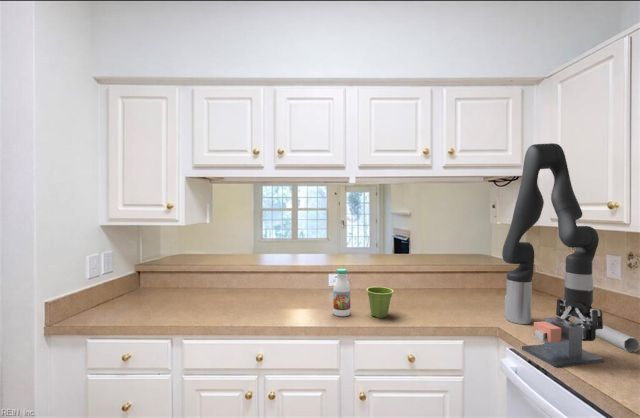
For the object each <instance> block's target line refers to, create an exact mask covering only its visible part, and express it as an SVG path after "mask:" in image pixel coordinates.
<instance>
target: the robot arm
mask: <svg viewBox="0 0 640 418" xmlns="http://www.w3.org/2000/svg"><path fill="white" fill-rule="evenodd" d="M523 159H524V160H523V166H522V174H521V181H520V184H519V189H518V190H519V191H518V194H517V198H516V201H515V206H514V210H513V215H512V220H511V222H510V226H509V230H508V233H507V234H506V235H507V236H506V238H505V241H504V244H503V247H502V253H501V255H502V260H503V261H504V262H505V263H506V264H509V265H518V266H517V267H516V268H515V269H512V270H509V271H507V273H506V295H504V318H505V319H506V320H507V321H508V322H511V323H514V324H519V325H530V324H532V308H533V307H532V305H533V304H532V301H533V300H532V299H533V298H532V296H533V295H532V294H533V293H532V292H533V290H532V289H533V283H532V282H533V276H534V268H535V267H534V266H535V248H534V246H533V244H531V243H530V242H528V241H521V239H522V238H523V236H524V235H525V234H526V233H527V231H530V229H531V228H532V227H534V226H535V224H537V222H538V221H539V219H540V218H541V216H542V213H543V212H542V211H543V208H544V204H545V202H544V201H545V200H544V197H543V195H542V193H541V190H540V188H539V185H538V179H539V174H540V171H541V170H550V171H551V174H552V176H553V186H552V190H551V194H550V196H551V197H550V199H551V204H552V207H553V209H554V212H555V214H556V217H557V224H558V225H557V226H558V228H557V229H558V237H559V240H560V241H561V243H562V244H563V245H565V247H568V248H572V249H573V248H574V249H575V250H574V252H573V253H570V254H568V255H566V257H565V272H564V273H565V274H564V283H563V284H564V285H563V287H564V290H563V291H564V292H563V293H564V295H563V296H564V297H563V298H558V299H556V310H555V312H556V313H555V315H556V317H559V318H561V319H564V320H567V321H569V322H571V320H570V319H571V318H572V317H573V318H575V317H577V318H579V319H581V320H582V322H584V323H585V325H586V326H587V328H588V329H587V340H588V341H587V342H594V341H595V340H596V337H597V336H596V330H597V329H603V325H604V324H603V323H604V322H603V310H602V309H594V308H593V307H592V304H593V302H594V279H593V261H594V258H595V255H596V252H597V249H598V246H599V240H600V239H599V234H598V232H597V230H596V229H595V228H594V227H593V226H590V225H577V221H578V220H580V219H581V218H582V217H583V210H582V209H581V206H580V204H579V202H578V199H577V197H576V195H575V192H574V189H573V185H572V180H571V177H570V172H569V168H568V167H569V166H568V163H567V159H566V155H565V151H564V149H563V148H562V146H561V145H560V144H558V143H551V142H550V143H537V144H536V143H535V144H532V145H530V146H528V148H527V150H526V152H525V154H524V158H523ZM586 318H588V319H586ZM590 324H591V325H590Z"/></svg>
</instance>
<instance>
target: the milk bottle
mask: <svg viewBox="0 0 640 418" xmlns="http://www.w3.org/2000/svg"><path fill="white" fill-rule="evenodd" d="M347 275H348V270H347V268H337V269H336V279H335V282H334V284H333V288H332V289H333V291H332V313H333V315H334V316H336V317H347V316H350V314H351V285H350V284H349V281H348V277H347Z"/></svg>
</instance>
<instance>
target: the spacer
mask: <svg viewBox="0 0 640 418" xmlns="http://www.w3.org/2000/svg"><path fill="white" fill-rule="evenodd" d="M537 329H538V330H541V331H543V332H545V333H547V341H548V342H561V328H559V327H557V326H554V325H552V324H550V323H547V322H545V320H544V321H534V322H533V336H535V330H537Z"/></svg>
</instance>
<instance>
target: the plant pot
mask: <svg viewBox="0 0 640 418" xmlns="http://www.w3.org/2000/svg"><path fill="white" fill-rule="evenodd" d="M366 292H367V296H368V301H369V302H368V303H369V309H370V314H371V316H373V317H375V318H386V317H388V316H389V310H390V305H391V299H392V297H393V296H392V295H393V293H394V290H393V289H392V288H388V287H385V286H370V287H367V288H366Z"/></svg>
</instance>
